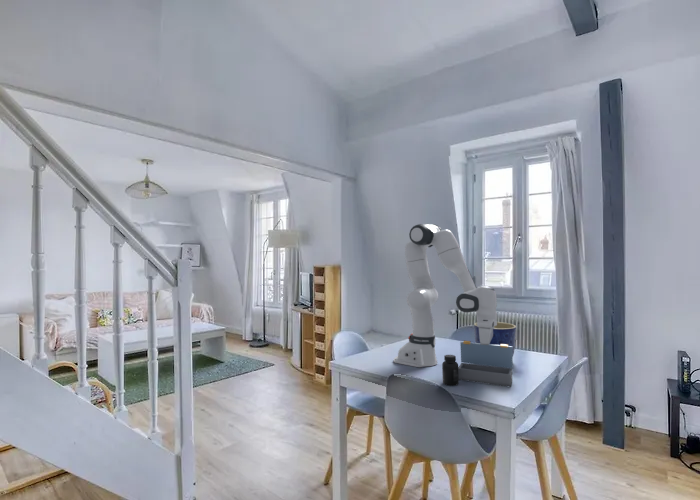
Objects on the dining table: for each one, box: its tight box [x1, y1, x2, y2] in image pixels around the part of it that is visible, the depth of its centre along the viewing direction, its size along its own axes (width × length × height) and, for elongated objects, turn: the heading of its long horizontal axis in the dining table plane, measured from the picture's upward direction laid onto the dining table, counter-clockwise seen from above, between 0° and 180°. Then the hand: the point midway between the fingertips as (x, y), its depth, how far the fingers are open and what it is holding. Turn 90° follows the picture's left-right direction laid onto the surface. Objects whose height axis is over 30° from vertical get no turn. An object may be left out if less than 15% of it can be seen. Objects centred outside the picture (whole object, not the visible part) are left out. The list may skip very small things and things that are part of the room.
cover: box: [459, 340, 514, 369], centre depth 177 cm, size 22×11×3 cm
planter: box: [473, 321, 517, 356], centre depth 203 cm, size 21×21×19 cm
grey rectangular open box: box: [458, 362, 513, 388], centre depth 174 cm, size 22×10×5 cm, turn 64°
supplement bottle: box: [441, 354, 460, 387], centre depth 169 cm, size 7×7×12 cm
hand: (487, 350), depth 181 cm, fingers closed
